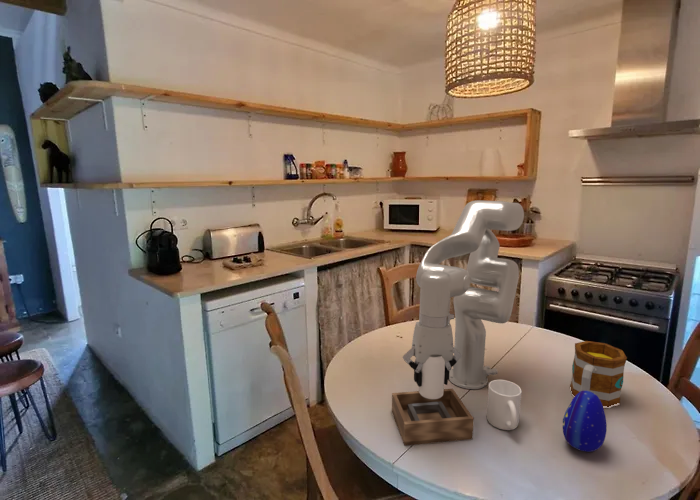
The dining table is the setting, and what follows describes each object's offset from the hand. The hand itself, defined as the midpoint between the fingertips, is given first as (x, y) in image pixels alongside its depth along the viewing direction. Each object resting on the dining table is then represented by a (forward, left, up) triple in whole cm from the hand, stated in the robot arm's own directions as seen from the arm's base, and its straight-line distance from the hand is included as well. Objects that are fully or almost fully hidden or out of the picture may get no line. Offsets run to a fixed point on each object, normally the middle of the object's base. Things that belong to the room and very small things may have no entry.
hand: (431, 382), depth 103 cm
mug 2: (-52, -5, -13) cm, 54 cm away
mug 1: (-20, +3, -13) cm, 24 cm away
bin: (0, 0, -13) cm, 13 cm away
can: (0, 0, -3) cm, 3 cm away
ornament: (-35, +13, -13) cm, 40 cm away
